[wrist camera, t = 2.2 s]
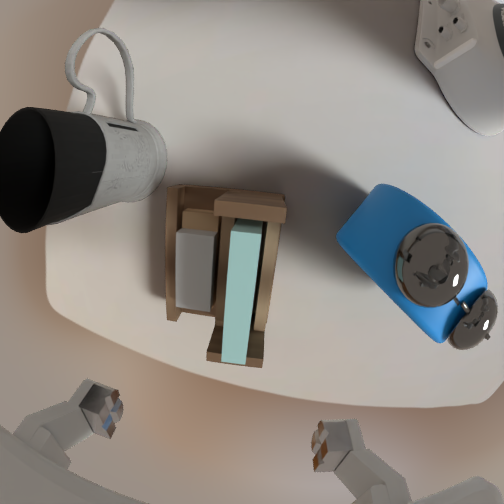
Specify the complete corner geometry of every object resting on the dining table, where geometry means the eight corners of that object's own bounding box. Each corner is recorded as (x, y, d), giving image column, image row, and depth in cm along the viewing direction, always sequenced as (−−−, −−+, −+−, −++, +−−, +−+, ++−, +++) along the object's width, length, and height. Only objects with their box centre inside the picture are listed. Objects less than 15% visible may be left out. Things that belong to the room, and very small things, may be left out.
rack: (179, 184, 25) (142, 194, 17) (284, 194, 25) (291, 208, 17) (176, 303, 29) (149, 349, 21) (266, 316, 29) (265, 368, 21)
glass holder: (87, 186, 26) (-19, 214, 12) (132, 65, 21) (39, 16, 7) (150, 214, 26) (51, 267, 12) (203, 83, 22) (136, 11, 8)
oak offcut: (187, 208, 24) (182, 211, 23) (221, 211, 24) (218, 214, 23) (185, 295, 27) (180, 303, 26) (215, 300, 27) (212, 308, 26)
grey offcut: (182, 228, 23) (176, 232, 22) (217, 231, 23) (214, 236, 22) (180, 298, 26) (175, 306, 24) (213, 303, 26) (209, 312, 24)
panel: (243, 208, 24) (231, 230, 16) (263, 210, 24) (261, 234, 16) (233, 307, 27) (221, 361, 19) (251, 309, 27) (245, 364, 19)
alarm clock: (319, 223, 26) (376, 292, 12) (359, 174, 24) (454, 193, 10) (400, 295, 28) (468, 381, 13) (434, 255, 26) (520, 319, 12)
